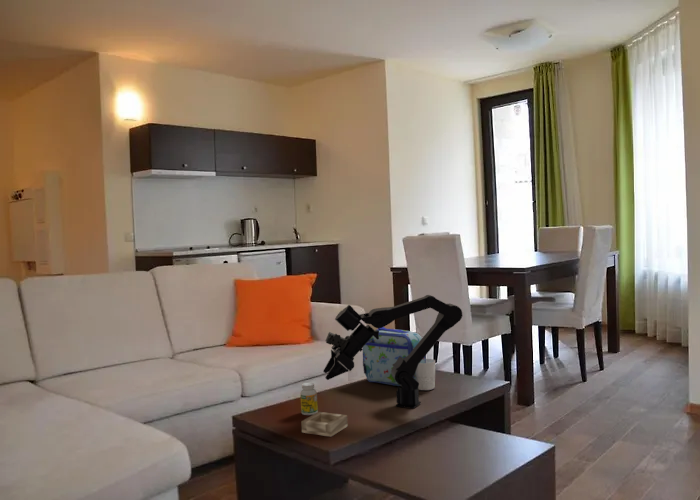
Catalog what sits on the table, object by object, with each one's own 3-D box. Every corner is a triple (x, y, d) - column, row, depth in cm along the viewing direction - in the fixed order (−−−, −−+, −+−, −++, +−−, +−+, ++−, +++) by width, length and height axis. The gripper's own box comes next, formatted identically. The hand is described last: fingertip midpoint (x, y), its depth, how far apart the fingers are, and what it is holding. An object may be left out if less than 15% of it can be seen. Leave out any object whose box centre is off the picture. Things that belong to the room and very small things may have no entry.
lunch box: (359, 381, 237) (357, 327, 237) (378, 375, 245) (376, 323, 244) (410, 392, 219) (408, 334, 218) (429, 385, 226) (427, 329, 225)
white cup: (439, 386, 224) (438, 359, 223) (430, 391, 217) (429, 364, 217) (420, 384, 228) (419, 357, 228) (410, 389, 221) (409, 362, 221)
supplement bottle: (320, 411, 200) (318, 382, 200) (314, 416, 195) (312, 386, 195) (304, 410, 202) (303, 381, 202) (298, 415, 197) (297, 385, 197)
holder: (347, 426, 184) (347, 415, 184) (330, 436, 175) (330, 425, 175) (319, 422, 189) (318, 411, 189) (301, 432, 180) (301, 421, 180)
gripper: (336, 319, 208) (305, 353, 207) (342, 328, 190) (308, 365, 189) (360, 341, 209) (329, 375, 208) (368, 351, 191) (334, 389, 190)
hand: (325, 375), depth 199 cm, fingers open, 9 cm apart
